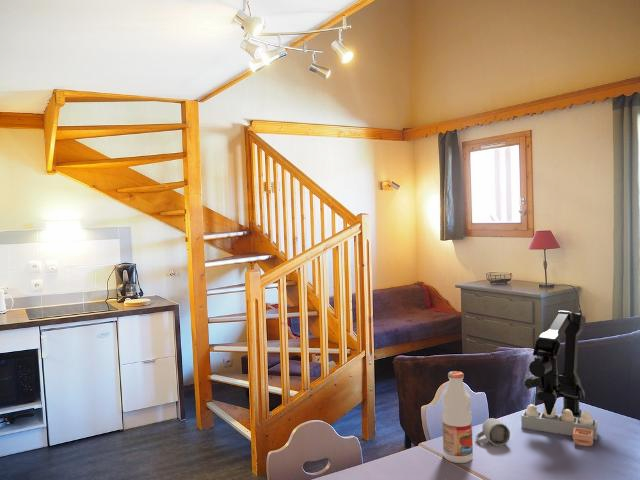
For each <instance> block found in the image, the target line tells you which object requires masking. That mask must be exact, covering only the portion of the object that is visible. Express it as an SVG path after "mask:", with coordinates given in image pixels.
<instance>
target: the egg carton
mask: <svg viewBox="0 0 640 480" xmlns="http://www.w3.org/2000/svg"><path fill="white" fill-rule="evenodd" d="M562 410H563V409H562ZM520 417H521V429H528V430H532V431H533V430H535V431H539V432H548V433H553V434H559V433H560V434H561V435H565V434H566V435H565V436H571V435H572V437H573V430H574V427H576V428H583V429H589V430H593V432H594V436H593V440H597V439H598V419H593V418H592V414H591V413H590V412H589V411H582V412H581V414H580V416H574V415H573V413H572V411H571V410H569V409H565V410H563V412H562V411H561V414H557V413H556V415H555V416H554V417H553V418H548V417H546V416H545V415H544V413H543V411H538V408H537V405H535V404H531V403H530V404H529V405H528V406H527V407H526V409H523V412H522V414H521V416H520Z"/></svg>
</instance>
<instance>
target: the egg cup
mask: <svg viewBox="0 0 640 480" xmlns="http://www.w3.org/2000/svg"><path fill="white" fill-rule="evenodd" d="M593 436H594V432H593V430H589V429H583V428H576V427H574V430H573V436H572V439H573V443H574V444H575V445H578V446H581V447H592V446H593V445H594V439H593Z"/></svg>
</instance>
